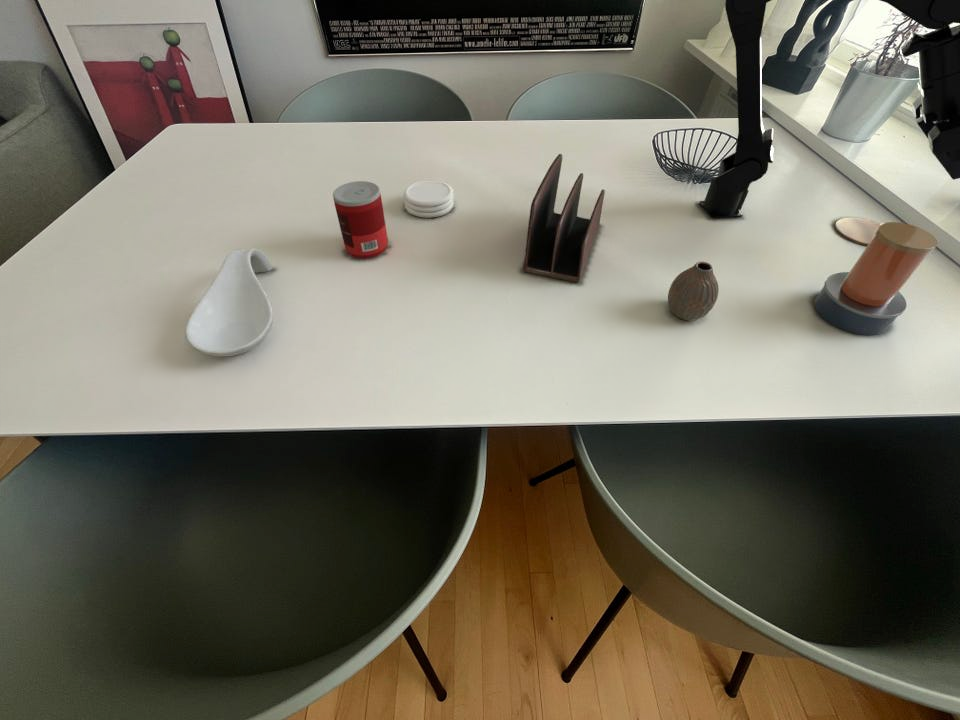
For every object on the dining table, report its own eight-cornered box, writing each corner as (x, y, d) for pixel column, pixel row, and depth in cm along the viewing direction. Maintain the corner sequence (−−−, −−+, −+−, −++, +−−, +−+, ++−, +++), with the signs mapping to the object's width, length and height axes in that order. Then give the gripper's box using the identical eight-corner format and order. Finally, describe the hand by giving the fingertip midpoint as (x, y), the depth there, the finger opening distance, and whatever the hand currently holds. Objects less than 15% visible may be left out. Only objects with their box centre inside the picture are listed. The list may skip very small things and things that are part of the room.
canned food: (396, 241, 90) (388, 185, 82) (372, 264, 85) (361, 206, 77) (362, 232, 92) (351, 177, 84) (337, 253, 87) (322, 197, 79)
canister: (859, 308, 70) (902, 250, 63) (830, 280, 75) (867, 223, 68) (902, 305, 71) (950, 247, 64) (871, 277, 76) (912, 220, 68)
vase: (710, 329, 73) (732, 283, 67) (664, 323, 74) (681, 277, 68) (705, 301, 78) (725, 255, 71) (661, 296, 79) (677, 250, 72)
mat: (856, 248, 89) (858, 246, 88) (824, 220, 96) (825, 218, 95) (906, 245, 89) (908, 243, 89) (870, 217, 96) (871, 216, 96)
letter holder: (522, 272, 83) (528, 196, 73) (549, 217, 96) (558, 146, 86) (579, 284, 81) (593, 207, 71) (599, 226, 94) (614, 154, 84)
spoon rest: (274, 364, 68) (257, 326, 63) (186, 373, 66) (162, 336, 61) (292, 267, 84) (280, 231, 79) (222, 273, 83) (205, 237, 78)
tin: (840, 338, 72) (855, 318, 69) (799, 294, 79) (811, 274, 76) (906, 333, 73) (924, 313, 70) (859, 289, 80) (874, 269, 77)
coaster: (396, 213, 97) (394, 197, 95) (418, 191, 103) (417, 175, 101) (441, 223, 94) (440, 206, 92) (461, 200, 101) (460, 184, 98)
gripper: (1048, 58, 61) (1044, 171, 68) (1005, 26, 73) (1005, 125, 80) (929, 99, 68) (936, 198, 75) (908, 64, 80) (916, 152, 87)
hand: (950, 166), depth 79 cm, fingers open, 9 cm apart
